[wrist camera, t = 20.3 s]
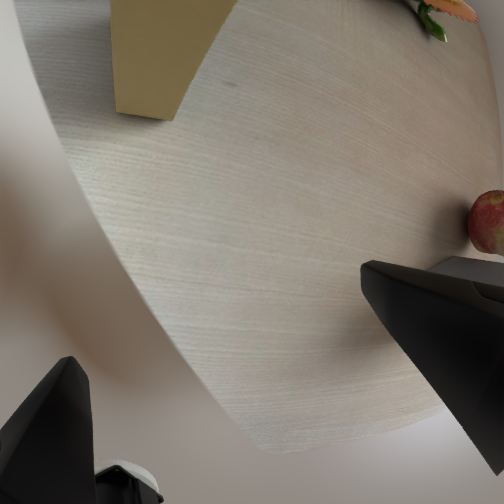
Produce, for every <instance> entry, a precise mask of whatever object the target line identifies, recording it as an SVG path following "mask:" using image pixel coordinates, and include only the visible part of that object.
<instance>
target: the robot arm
mask: <svg viewBox="0 0 504 504" xmlns="http://www.w3.org/2000/svg"><path fill="white" fill-rule="evenodd" d="M360 273H361V290H362V293H363V295H364V296H365V298H366V299H367V301H368V302H369V304H370V305H371V307H372V308H373V310H374V311H375V313H376V314H377V316H378V317H379V319H380V321H381V322H382V324H383V325H384V327H385V328H386V329H387V331H388V332H389V333H390V335H391V336H392V337H393V338H394V339H395V341H396V342H397V343H398V344H399V346H400V347H401V348H402V349H403V351H404V352H405V353H406V354H407V356H408V357H409V358H410V359H411V361H412V362H413V363H414V364H415V366H416V367H417V368H418V369H419V371H420V372H421V373H422V375H423V376H424V377H425V378H426V380H427V381H428V382H429V384H430V385H431V386H432V387H433V389H434V390H435V391H436V393H437V394H438V395H439V397H440V398H441V399H442V401H443V402H444V403H445V405H446V406H447V407H448V409H449V410H450V411H451V412H452V414H453V415H454V417H455V418H456V419H457V421H458V422H459V424H460V425H461V426H462V427H463V429H464V431H465V432H466V433H467V435H468V436H469V437H470V439H471V440H472V442H473V443H474V445H475V446H476V448H477V449H478V450H479V452H480V453H481V455H482V456H483V457H484V459H485V460H486V462H487V463H488V465H489V466H490V468H491V469H492V471H493V472H494V473H495V475H496V476H498V475H499V474H500V473H501V472H502V471H503V470H504V287H503V286H497V285H492V284H486V283H482V282H477V281H471V280H467V279H463V278H458V277H453V276H449V275H444V274H439V273H434V272H430V271H425V270H420V269H415V268H410V267H405V266H400V265H396V264H391V263H386V262H381V261H376V260H371V261H368V262H366V263H363V264H362V265H361V268H360ZM92 423H93V422H92V412H91V403H90V389H89V380H88V377H87V375H86V373H85V372H84V370H83V369H82V367H81V366H80V364H79V363H78V362H77V360H76V359H75V358H74V357H73V356H68V357H64V358H61V359H60V360H59V361H58V362H57V363H56V365H54V367H53V368H52V369H51V370H50V371H49V372H48V373H47V375H46V376H45V377H44V378H43V379H42V380H41V381H40V383H39V384H38V385H37V386H36V387H35V388H34V390H33V391H32V392H31V393H30V394H29V395H28V397H27V398H26V399H25V400H24V401H23V403H22V404H21V405H20V406H19V407H18V409H17V410H16V411H15V412H14V413H13V415H12V416H11V417H10V418H9V420H8V421H7V422H6V423H5V425H4V426H3V427H2V428H1V430H0V504H160V503H162V502H163V501H164V499H163V496H161V495H160V494H159V493H157V492H156V491H155V490H154V489H152V488H151V487H150V486H148V485H147V484H145V483H144V482H143V481H141V480H140V479H138V478H136V477H134V476H133V475H132V474H130V473H129V472H128V471H127V470H125V469H124V468H123V467H121V466H120V465H113V466H111V467H109V468H107V469H105V470H103V471H101V472H99V473H97V474H95V472H94V455H93V454H94V453H93V424H92Z"/></svg>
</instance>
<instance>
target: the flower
mask: <svg viewBox="0 0 504 504" xmlns="http://www.w3.org/2000/svg"><path fill="white" fill-rule="evenodd" d="M414 1H415V2H417V3H418V9H417V12H418V16H419V17H420V19H421V20H422V21H423V22H424V23H425V30H426V31H427V32H428V33H430V34H431V35H433V36H434V37H436V38H437V39H439V40H441V41H443V42H448V40H447V36H446V32H445V30H444V28H443V27H442V26H441V25H440V24H438V23H437V22H436V21H434V20H433V19H432V18H431V16H430V15H429V13H430V11H431V10H434V11H436V12H443V13H444V12H447V13H448V14H450V15H451V13H452V14H453V15H454V16H455V17H456V18H457V19H458V17H457V15H458V16H459V17H460V18H461V19H462V20H463V21H464V19H463V17H464V18H465V19H466V20H467V21H468V22H469V23H470V21H469V19H470V20H471V21H472V22H474V20H475V21H477V20H476V19H475V18H477V17H476V16H477V14H476V13H475V11H474V10H473V9H472V8H471V7H470V6H468V5H467V4H466V3H465V2H463V1H462V0H414ZM475 15H476V16H475ZM451 16H452V15H451ZM474 17H475V18H474ZM473 19H474V20H473ZM477 19H478V18H477ZM477 22H478V21H477ZM474 23H475V22H474ZM475 24H476V23H475Z"/></svg>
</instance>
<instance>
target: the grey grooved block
mask: <svg viewBox="0 0 504 504" xmlns="http://www.w3.org/2000/svg"><path fill="white" fill-rule="evenodd" d="M426 271H430V272H434V273H439V274H444V275H449V276H453V277H458V278H463V279H467V280H471V281H477V282H482V283H486V284H492V285H497V286H503V287H504V263H499V262H492V261H485V260H478V259H472V258H465V257H458V256H454V257H452V258H450V259H448V260H446V261H444V262H442V263H440V264H438V265H436V266H434V267H432V268H430V269H428V270H426Z"/></svg>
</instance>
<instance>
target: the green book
mask: <svg viewBox="0 0 504 504" xmlns="http://www.w3.org/2000/svg"><path fill="white" fill-rule="evenodd" d="M237 2H238V0H111V48H112V67H113V81H114V93H115V104H116V112H118V113H125V114H132V115H138V116H145V117H151V118H157V119H162V120H168V121H173V119H174V116H175V114H176V112H177V110H178V108H179V106H180V104H181V102H182V100H183V98H184V96H185V94H186V92H187V90H188V88H189V86H190V84H191V82H192V80H193V78H194V76H195V74H196V72H197V70H198V68H199V66H200V65H201V63H202V61H203V59H204V57H205V55H206V54H207V52H208V50H209V48H210V46H211V45H212V43H213V41H214V39H215V38H216V36H217V34H218V32H219V31H220V29H221V27H222V26H223V24H224V22H225V21H226V19H227V17H228V16H229V14H230V13H231V11H232V9H233V8H234V6H235V5H236V3H237Z"/></svg>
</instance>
